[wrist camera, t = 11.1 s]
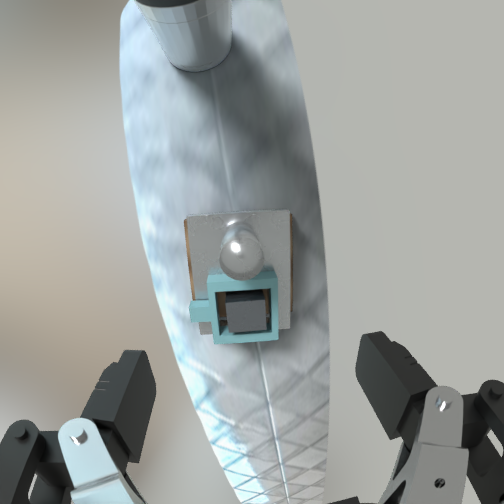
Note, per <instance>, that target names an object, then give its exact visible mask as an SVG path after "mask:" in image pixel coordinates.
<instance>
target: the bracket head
mask: <svg viewBox="0 0 504 504" xmlns="http://www.w3.org/2000/svg"><path fill="white" fill-rule="evenodd" d="M268 288H269V319H270V323H266V326H267V330H257V331H246V332H234V333H229V330H228V326H220V320H219V311H218V302H217V292H223V291H239V290H254V289H268ZM207 290H208V299H209V300H197V301H191V303H190V306H189V311H190V318H191V322H211V324H212V332H213V340H214V344H229V343H245V342H259V341H271V340H278V277H277V275H276V273H275V271H266V272H259V274H258V275H256V276H255V277H254V278H252V279H249V280H245V281H239V280H234V279H232V278H230V277H228V276H227V275H226V274H219V275H208V279H207Z"/></svg>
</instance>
